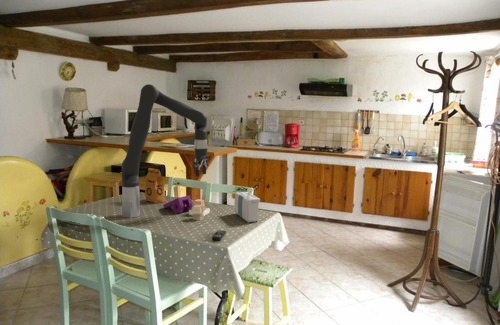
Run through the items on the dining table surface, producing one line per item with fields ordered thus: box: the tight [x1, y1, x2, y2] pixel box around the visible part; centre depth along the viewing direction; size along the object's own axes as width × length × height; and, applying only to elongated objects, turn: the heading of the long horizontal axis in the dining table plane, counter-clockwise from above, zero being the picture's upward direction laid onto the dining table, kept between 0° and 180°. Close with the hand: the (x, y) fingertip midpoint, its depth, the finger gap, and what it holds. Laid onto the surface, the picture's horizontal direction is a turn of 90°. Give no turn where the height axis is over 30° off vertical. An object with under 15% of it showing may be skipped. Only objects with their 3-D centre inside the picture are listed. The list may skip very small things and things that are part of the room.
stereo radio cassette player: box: [234, 185, 261, 223], centre depth 222 cm, size 21×8×20 cm, turn 21°
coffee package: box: [144, 167, 165, 204], centre depth 256 cm, size 10×12×22 cm
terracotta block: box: [193, 198, 205, 206], centre depth 229 cm, size 4×4×8 cm
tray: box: [188, 207, 211, 217], centre depth 229 cm, size 9×9×3 cm
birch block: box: [192, 204, 205, 221], centre depth 218 cm, size 4×4×8 cm
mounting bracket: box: [162, 195, 193, 214], centre depth 237 cm, size 10×8×18 cm
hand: (200, 175), depth 227 cm, fingers open, 8 cm apart
